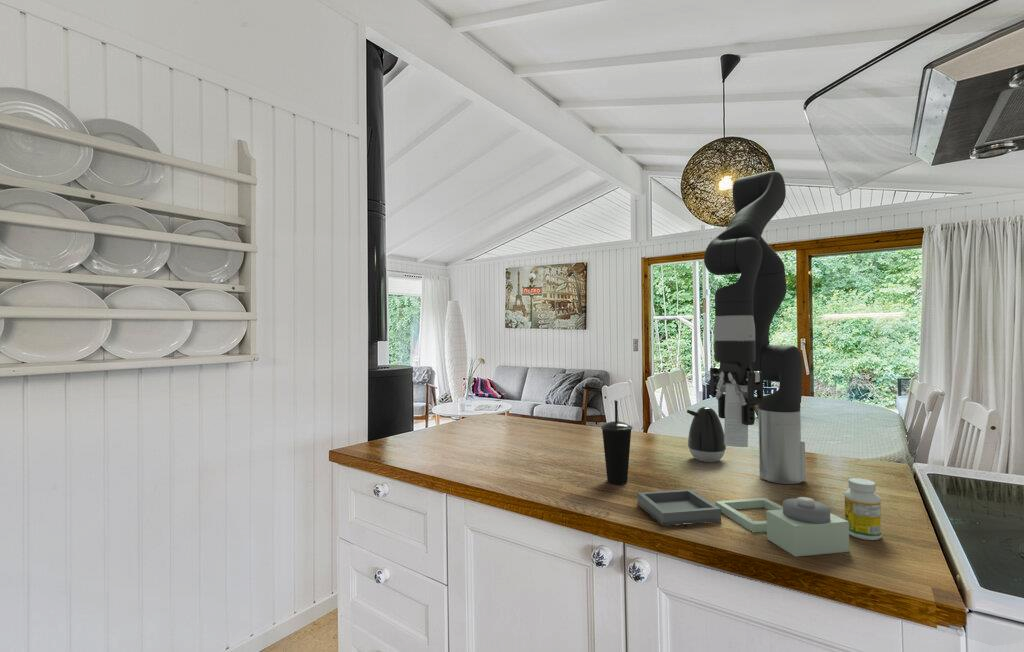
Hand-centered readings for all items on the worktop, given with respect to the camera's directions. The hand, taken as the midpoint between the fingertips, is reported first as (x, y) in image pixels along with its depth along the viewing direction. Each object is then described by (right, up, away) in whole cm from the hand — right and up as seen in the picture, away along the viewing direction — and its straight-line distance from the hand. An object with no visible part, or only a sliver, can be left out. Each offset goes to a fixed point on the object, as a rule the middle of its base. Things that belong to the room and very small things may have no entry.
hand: (735, 421), depth 97 cm
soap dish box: (+5, -19, -5) cm, 20 cm away
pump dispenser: (+11, -20, +42) cm, 48 cm away
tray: (-11, -19, +2) cm, 22 cm away
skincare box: (0, -5, 0) cm, 5 cm away
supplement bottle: (+19, -19, -9) cm, 28 cm away
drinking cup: (-19, -20, +24) cm, 36 cm away
